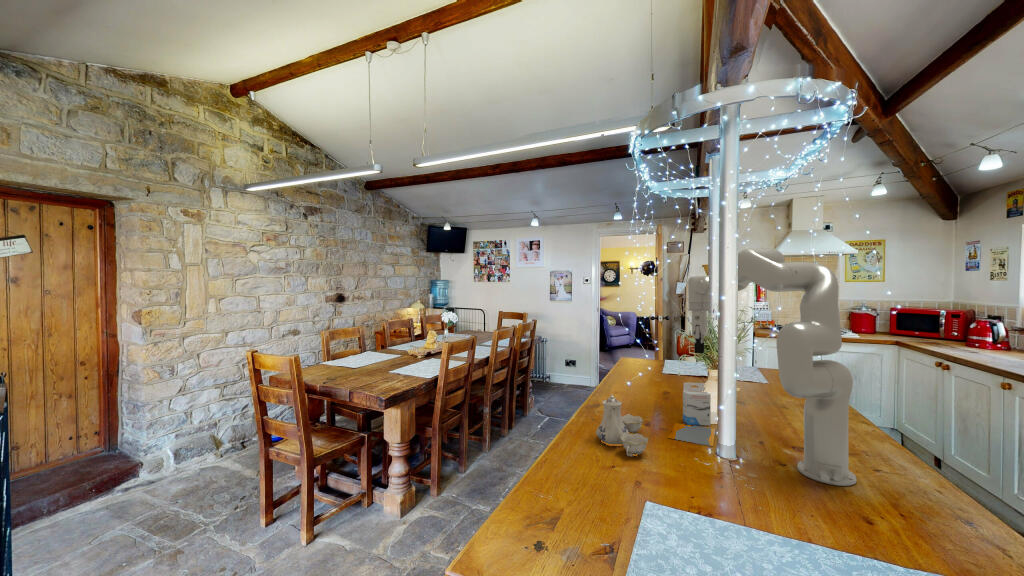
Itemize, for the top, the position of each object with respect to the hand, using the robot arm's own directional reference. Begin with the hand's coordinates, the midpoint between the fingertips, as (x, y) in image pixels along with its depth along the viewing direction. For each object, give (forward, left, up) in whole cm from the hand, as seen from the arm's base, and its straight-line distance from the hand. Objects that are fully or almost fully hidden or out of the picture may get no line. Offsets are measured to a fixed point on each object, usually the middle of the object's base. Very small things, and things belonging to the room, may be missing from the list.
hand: (699, 352), depth 155 cm
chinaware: (-42, +20, -26) cm, 53 cm away
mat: (-23, 0, -25) cm, 34 cm away
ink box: (-12, 0, -25) cm, 28 cm away
